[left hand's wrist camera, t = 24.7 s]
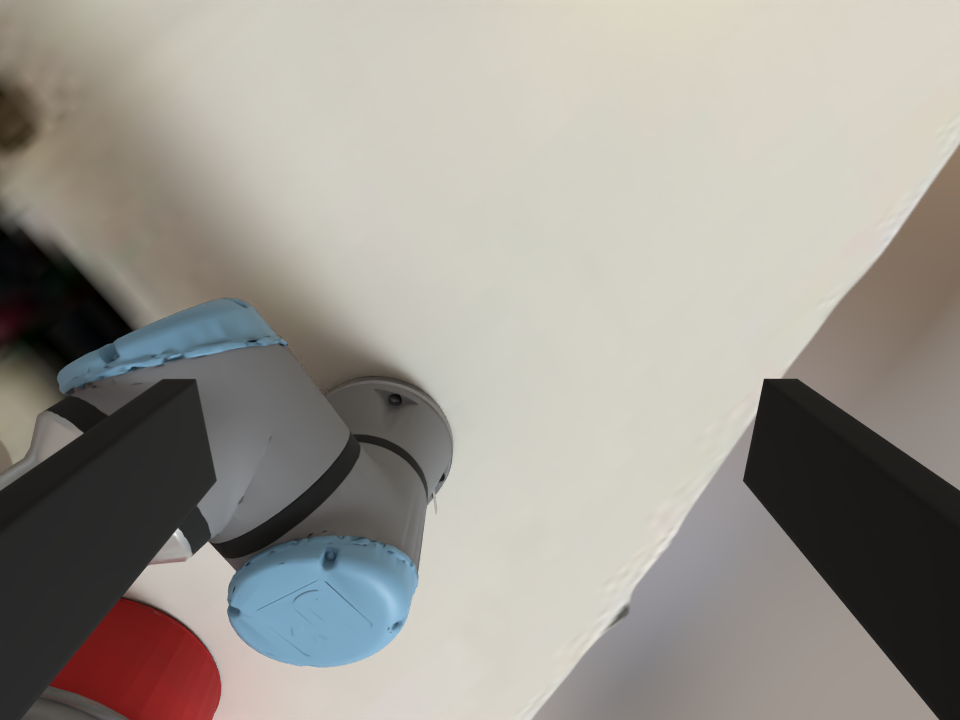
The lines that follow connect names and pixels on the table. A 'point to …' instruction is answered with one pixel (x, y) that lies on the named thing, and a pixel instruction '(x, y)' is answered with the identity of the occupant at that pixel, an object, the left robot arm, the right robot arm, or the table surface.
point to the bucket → (134, 672)
